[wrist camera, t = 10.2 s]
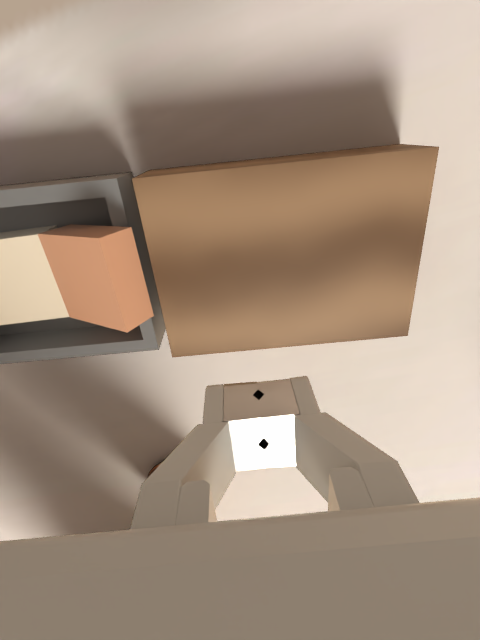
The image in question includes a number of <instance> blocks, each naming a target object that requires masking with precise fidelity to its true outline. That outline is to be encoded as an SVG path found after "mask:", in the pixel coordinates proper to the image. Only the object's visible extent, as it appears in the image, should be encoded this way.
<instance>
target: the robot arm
mask: <svg viewBox="0 0 480 640" xmlns="http://www.w3.org/2000/svg"><path fill="white" fill-rule="evenodd" d="M265 465H266V466H265ZM286 466H296V468H297V469H298V470H299V471H300V472H301V473H302V474H303V475H304V477H305V478H306V479H307V480H308V481H309V482H310V483H311V484H312V485H313V487H314V488H315V489H316V490H317V491H318V492H319V493H320V494H321V495H322V497H323V498H324V499H325V500H326V501H327V502H328V511H327V512H316V513H305V514H294V515H283V516H272V517H261V518H250V519H239V520H228V521H217V518H216V513H215V509H216V507H217V506H218V504H219V502H220V500H221V499H222V497H223V495H224V493H225V492H226V490H227V488H228V486H229V485H230V483H231V481H232V479H233V478H234V476H235V474H236V471H244V470H252V469H260V468H271V467H286ZM0 640H480V498H469V499H458V500H447V501H436V502H425V503H419V501H418V499H417V497H416V495H415V493H414V492H413V490H412V488H411V486H410V484H409V482H408V480H407V479H406V477H405V475H404V473H403V471H402V469H401V467H400V466H399V464H398V462H397V461H396V460H395V459H393V458H392V457H390V456H389V455H387V454H386V453H384V452H383V451H381V450H380V449H379V448H377V447H376V446H374V445H373V444H371V443H370V442H368V441H367V440H365V439H364V438H362V437H361V436H360V435H358V434H357V433H355V432H354V431H352V430H351V429H349V428H348V427H346V426H345V425H343V424H342V423H340V422H339V421H338V420H336V419H335V418H333V417H332V416H330V415H329V414H327V413H321V412H320V410H319V407H318V404H317V401H316V398H315V396H314V393H313V390H312V387H311V384H310V382H309V379H308V377H307V376H303V377H295V378H290V379H282V380H272V381H262V382H247V383H234V384H224V385H223V384H222V385H211V386H207V387H206V392H205V403H204V414H203V424H199V425H197V426H196V427H195V428H194V429H193V430H192V431H191V432H190V433H189V434H188V435H187V436H186V438H185V439H184V440H183V441H182V442H181V443H180V444H179V445H178V446H177V447H176V448H175V449H174V450H173V451H172V453H171V454H170V455H169V456H168V457H167V458H166V459H165V460H164V461H163V462H162V463H161V464H160V465H159V466H158V467H157V469H156V470H155V471H154V472H153V473H152V474H151V475H150V476H149V477H148V478H147V479H146V480H145V481H144V482H143V483H142V485H141V489H140V493H139V497H138V501H137V505H136V508H135V512H134V516H133V520H132V524H131V528H130V530H120V531H109V532H97V533H86V534H75V535H64V536H53V537H42V538H31V539H20V540H10V541H0Z"/></svg>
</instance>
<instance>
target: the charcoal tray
mask: <svg viewBox="0 0 480 640" xmlns="http://www.w3.org/2000/svg"><path fill="white" fill-rule="evenodd" d="M132 178H133V174H132V172H127V173H117V174H108V175H98V176H88V177H79V178H69V179H59V180H50V181H40V182H31V183H21V184H11V185H2V186H0V233H1V232H8V231H16V230H24V229H31V228H39V227H47V226H54V225H57V228H60V227H63V226H66V225H70V224H75V225H97V226H120V227H132V231H133V235H134V239H135V243H136V247H137V251H138V255H139V259H140V263H141V267H142V271H143V275H144V279H145V282H146V286H147V290H148V294H149V298H150V302H151V306H152V310H153V314H154V316H153V317H151V318H149V319H148V320H146V321H145V322H143V323H142V324H140V325H139V326H137V327H135V328H134V329H132V330H131V331H129V332H128V333H127V332H123V331H119V330H116V329H112V328H108V327H104V326H101V325H97V324H93V323H89V322H86V321H82V320H78V319H74V318H71V317H64V318H56V319H48V320H39V321H31V322H23V323H15V324H6V325H0V364H7V363H18V362H29V361H40V360H51V359H62V358H72V357H83V356H94V355H105V354H116V353H127V352H138V351H148V350H159V348H160V345H161V342H162V338H163V335H164V332H165V329H166V327H165V322H164V318H163V314H162V309H161V305H160V300H159V296H158V292H157V287H156V283H155V278H154V274H153V270H152V265H151V261H150V256H149V252H148V248H147V243H146V239H145V234H144V230H143V226H142V221H141V217H140V212H139V208H138V204H137V199H136V195H135V190H134V186H133V182H132Z"/></svg>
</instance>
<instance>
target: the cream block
mask: <svg viewBox="0 0 480 640" xmlns="http://www.w3.org/2000/svg"><path fill="white" fill-rule="evenodd" d="M56 228H57V225H54V226H47V227H39V228H31V229H24V230H16V231H8V232H1V233H0V325H6V324H15V323H23V322H31V321H39V320H48V319H56V318H64V317H69V314H68V312H67V309H66V306H65V304H64V301H63V299H62V296H61V294H60V291H59V288H58V286H57V283H56V281H55V278H54V275H53V273H52V270H51V268H50V265H49V262H48V260H47V257H46V255H45V252H44V250H43V247H42V244H41V242H40V239H39V237H38V234H39V233H42V232H46V231H49V230H53V229H56Z"/></svg>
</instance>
